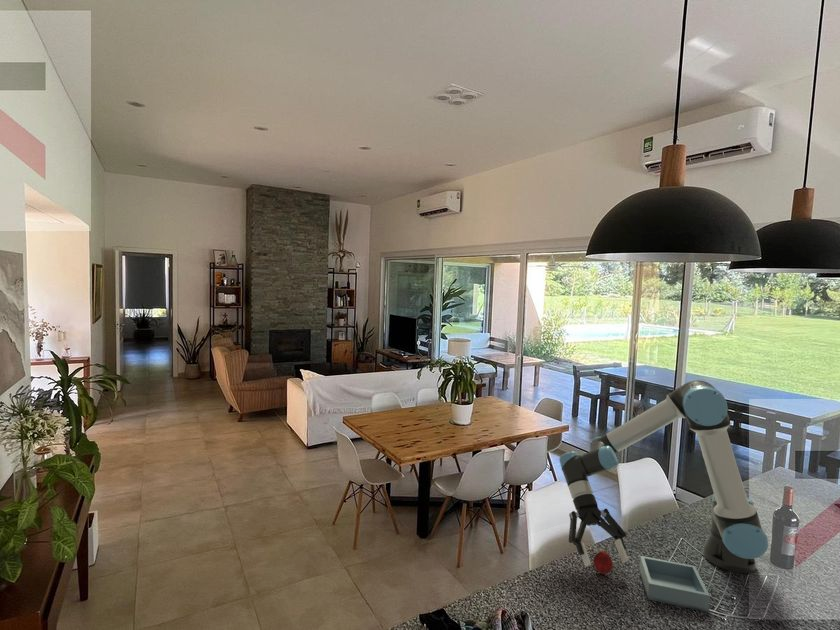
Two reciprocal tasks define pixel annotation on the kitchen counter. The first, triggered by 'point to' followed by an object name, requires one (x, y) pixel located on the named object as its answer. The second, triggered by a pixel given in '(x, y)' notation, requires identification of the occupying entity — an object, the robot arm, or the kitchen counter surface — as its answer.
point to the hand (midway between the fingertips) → (607, 563)
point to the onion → (602, 562)
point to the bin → (673, 583)
